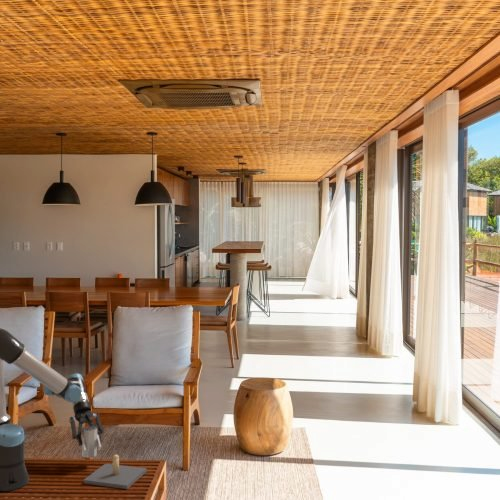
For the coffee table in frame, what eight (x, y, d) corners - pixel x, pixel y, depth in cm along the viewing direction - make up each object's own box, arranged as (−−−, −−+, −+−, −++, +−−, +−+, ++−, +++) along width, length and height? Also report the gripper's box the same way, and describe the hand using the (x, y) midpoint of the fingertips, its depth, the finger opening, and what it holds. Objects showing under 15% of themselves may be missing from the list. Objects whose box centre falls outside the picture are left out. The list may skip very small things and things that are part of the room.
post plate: (83, 483, 236) (83, 460, 236) (105, 466, 253) (105, 445, 253) (127, 489, 231) (127, 465, 230) (146, 471, 248) (146, 449, 248)
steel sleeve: (79, 456, 252) (80, 429, 252) (87, 452, 258) (87, 425, 258) (91, 458, 251) (92, 431, 251) (98, 453, 257) (99, 427, 257)
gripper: (98, 405, 273) (110, 450, 259) (58, 411, 262) (68, 458, 248) (103, 397, 268) (115, 441, 255) (62, 403, 257) (72, 449, 244)
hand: (92, 449), depth 252 cm, fingers closed on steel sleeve, 6 cm apart
